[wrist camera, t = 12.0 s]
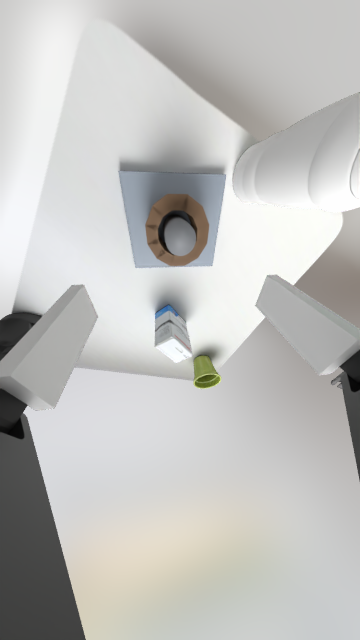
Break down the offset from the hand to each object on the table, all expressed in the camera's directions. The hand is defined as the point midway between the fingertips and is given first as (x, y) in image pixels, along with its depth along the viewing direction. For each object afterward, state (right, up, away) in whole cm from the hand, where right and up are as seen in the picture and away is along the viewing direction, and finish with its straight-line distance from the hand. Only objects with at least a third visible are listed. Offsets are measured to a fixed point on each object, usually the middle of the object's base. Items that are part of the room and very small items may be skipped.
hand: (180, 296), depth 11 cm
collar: (-1, +15, +15) cm, 21 cm away
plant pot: (+8, -17, +45) cm, 49 cm away
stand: (-1, +16, +16) cm, 23 cm away
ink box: (-2, -1, +31) cm, 31 cm away
